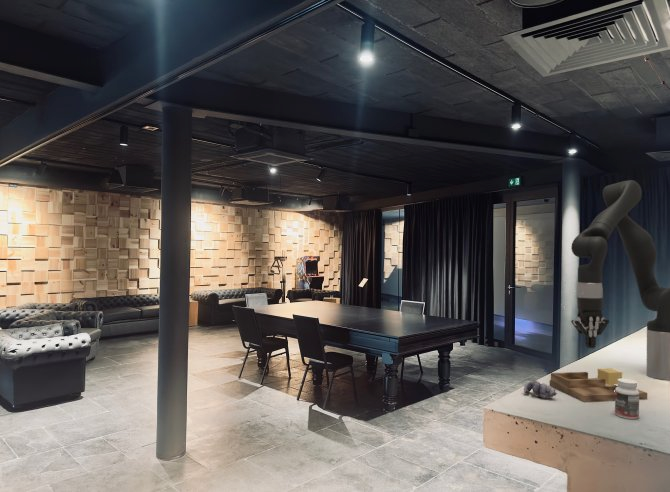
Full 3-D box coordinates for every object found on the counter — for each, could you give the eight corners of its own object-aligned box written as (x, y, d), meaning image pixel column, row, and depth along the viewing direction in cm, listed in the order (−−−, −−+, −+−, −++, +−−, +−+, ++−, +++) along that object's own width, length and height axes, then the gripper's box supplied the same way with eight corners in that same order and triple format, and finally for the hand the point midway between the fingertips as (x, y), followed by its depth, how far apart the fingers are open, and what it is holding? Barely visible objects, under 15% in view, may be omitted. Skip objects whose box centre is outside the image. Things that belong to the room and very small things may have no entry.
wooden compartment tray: (606, 383, 160) (606, 377, 160) (647, 399, 143) (647, 392, 143) (549, 385, 156) (549, 379, 156) (584, 402, 140) (584, 395, 140)
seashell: (522, 397, 147) (556, 405, 141) (520, 387, 145) (553, 394, 138) (527, 384, 151) (560, 392, 144) (524, 374, 148) (558, 380, 142)
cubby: (586, 379, 158) (586, 371, 158) (605, 386, 149) (605, 379, 149) (550, 380, 156) (550, 373, 156) (568, 388, 147) (568, 380, 147)
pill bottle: (610, 412, 131) (610, 377, 131) (628, 412, 131) (629, 377, 132) (624, 419, 125) (624, 383, 125) (644, 419, 126) (644, 383, 126)
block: (610, 380, 157) (610, 368, 157) (621, 384, 152) (622, 372, 152) (597, 380, 156) (597, 368, 156) (608, 384, 151) (608, 372, 151)
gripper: (599, 294, 158) (599, 344, 158) (564, 295, 156) (565, 346, 155) (615, 296, 150) (616, 349, 150) (580, 297, 148) (580, 351, 148)
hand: (590, 347), depth 153 cm, fingers closed
